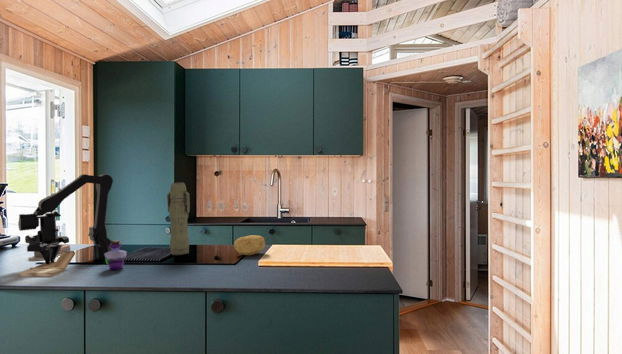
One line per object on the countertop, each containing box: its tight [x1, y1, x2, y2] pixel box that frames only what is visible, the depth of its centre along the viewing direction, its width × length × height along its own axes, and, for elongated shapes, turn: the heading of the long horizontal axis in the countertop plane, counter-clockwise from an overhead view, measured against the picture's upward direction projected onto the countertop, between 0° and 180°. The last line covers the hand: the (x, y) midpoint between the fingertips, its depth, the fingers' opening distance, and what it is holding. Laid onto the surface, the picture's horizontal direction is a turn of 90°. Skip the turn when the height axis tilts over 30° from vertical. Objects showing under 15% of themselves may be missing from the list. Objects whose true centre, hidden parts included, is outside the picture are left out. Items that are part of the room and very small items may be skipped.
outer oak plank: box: [32, 261, 56, 268], centre depth 176 cm, size 5×9×1 cm, turn 177°
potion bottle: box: [104, 240, 128, 271], centre depth 174 cm, size 9×9×12 cm
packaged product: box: [27, 243, 71, 261], centre depth 201 cm, size 18×5×10 cm
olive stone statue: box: [166, 181, 191, 256], centre depth 203 cm, size 9×12×35 cm
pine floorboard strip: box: [18, 267, 65, 277], centre depth 168 cm, size 14×7×2 cm, turn 87°
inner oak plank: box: [52, 250, 76, 271], centre depth 175 cm, size 5×9×1 cm
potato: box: [233, 234, 266, 256], centre depth 198 cm, size 10×14×10 cm
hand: (49, 263), depth 179 cm, fingers closed on outer oak plank, 2 cm apart
